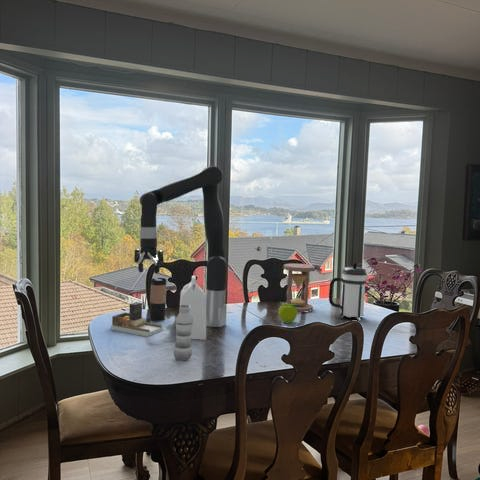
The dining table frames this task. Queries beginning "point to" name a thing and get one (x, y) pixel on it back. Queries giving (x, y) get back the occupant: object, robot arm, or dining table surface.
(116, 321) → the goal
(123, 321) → the ball
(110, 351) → the dining table surface
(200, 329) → the milk
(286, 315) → the fruit
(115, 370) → the dining table surface
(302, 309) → the hourglass
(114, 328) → the shallow rectangular tray
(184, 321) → the plastic bottle
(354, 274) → the coffee press
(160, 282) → the travel mug
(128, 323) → the kicker
